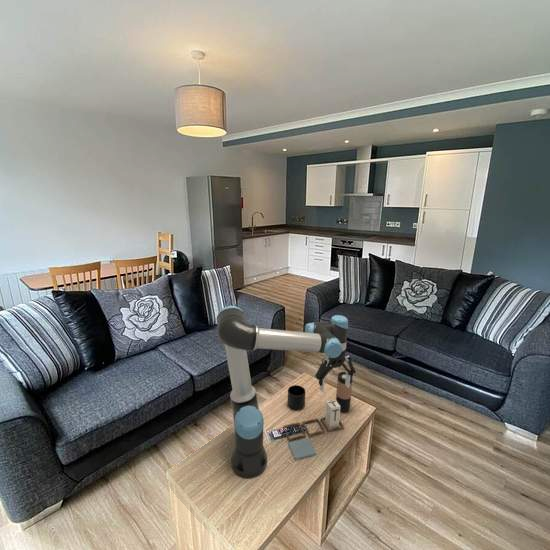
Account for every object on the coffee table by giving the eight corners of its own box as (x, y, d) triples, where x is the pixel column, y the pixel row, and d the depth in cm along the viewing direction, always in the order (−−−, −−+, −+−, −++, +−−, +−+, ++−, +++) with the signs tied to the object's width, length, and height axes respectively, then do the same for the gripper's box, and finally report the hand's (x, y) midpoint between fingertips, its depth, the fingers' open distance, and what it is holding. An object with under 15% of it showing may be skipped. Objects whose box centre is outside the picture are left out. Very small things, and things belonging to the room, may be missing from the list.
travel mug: (334, 403, 160) (336, 371, 155) (348, 404, 160) (351, 371, 155) (336, 413, 153) (339, 379, 148) (351, 413, 152) (354, 380, 148)
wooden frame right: (328, 432, 140) (328, 430, 139) (320, 420, 148) (320, 417, 147) (343, 429, 142) (343, 426, 142) (335, 417, 150) (335, 414, 150)
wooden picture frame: (288, 441, 134) (288, 438, 134) (283, 428, 142) (283, 425, 142) (305, 437, 136) (306, 435, 136) (299, 424, 144) (299, 422, 144)
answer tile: (295, 460, 124) (295, 458, 124) (288, 444, 133) (288, 442, 132) (316, 455, 127) (316, 453, 127) (308, 439, 136) (308, 437, 135)
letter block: (329, 429, 142) (331, 408, 139) (325, 422, 146) (326, 401, 144) (338, 427, 143) (340, 406, 140) (333, 420, 148) (335, 399, 145)
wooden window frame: (308, 437, 137) (308, 434, 137) (302, 424, 145) (302, 421, 144) (325, 433, 139) (325, 430, 139) (317, 420, 147) (317, 418, 147)
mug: (311, 403, 160) (312, 388, 158) (296, 413, 152) (297, 398, 150) (298, 395, 167) (299, 381, 164) (283, 404, 159) (284, 390, 156)
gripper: (316, 356, 128) (314, 397, 133) (365, 348, 135) (361, 388, 140) (309, 347, 135) (307, 387, 140) (356, 341, 142) (353, 379, 147)
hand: (334, 388), depth 140 cm, fingers open, 13 cm apart
